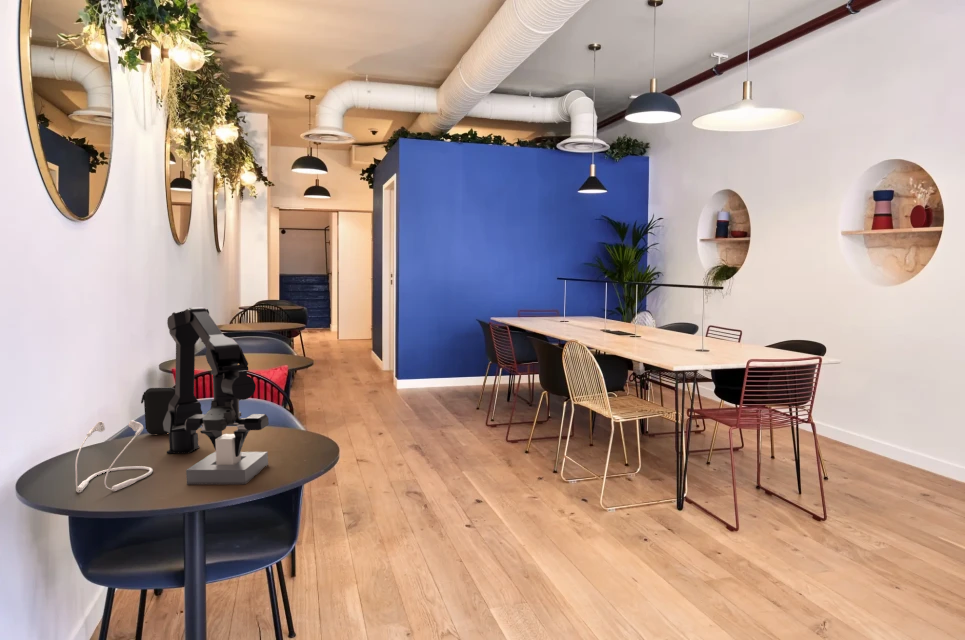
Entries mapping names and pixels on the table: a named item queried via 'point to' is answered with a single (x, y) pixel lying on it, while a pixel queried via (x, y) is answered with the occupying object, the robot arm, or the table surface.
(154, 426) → the carrying case or bag
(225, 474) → the socket block
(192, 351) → the robot arm
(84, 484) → the earphone
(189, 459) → the table surface
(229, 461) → the plug
